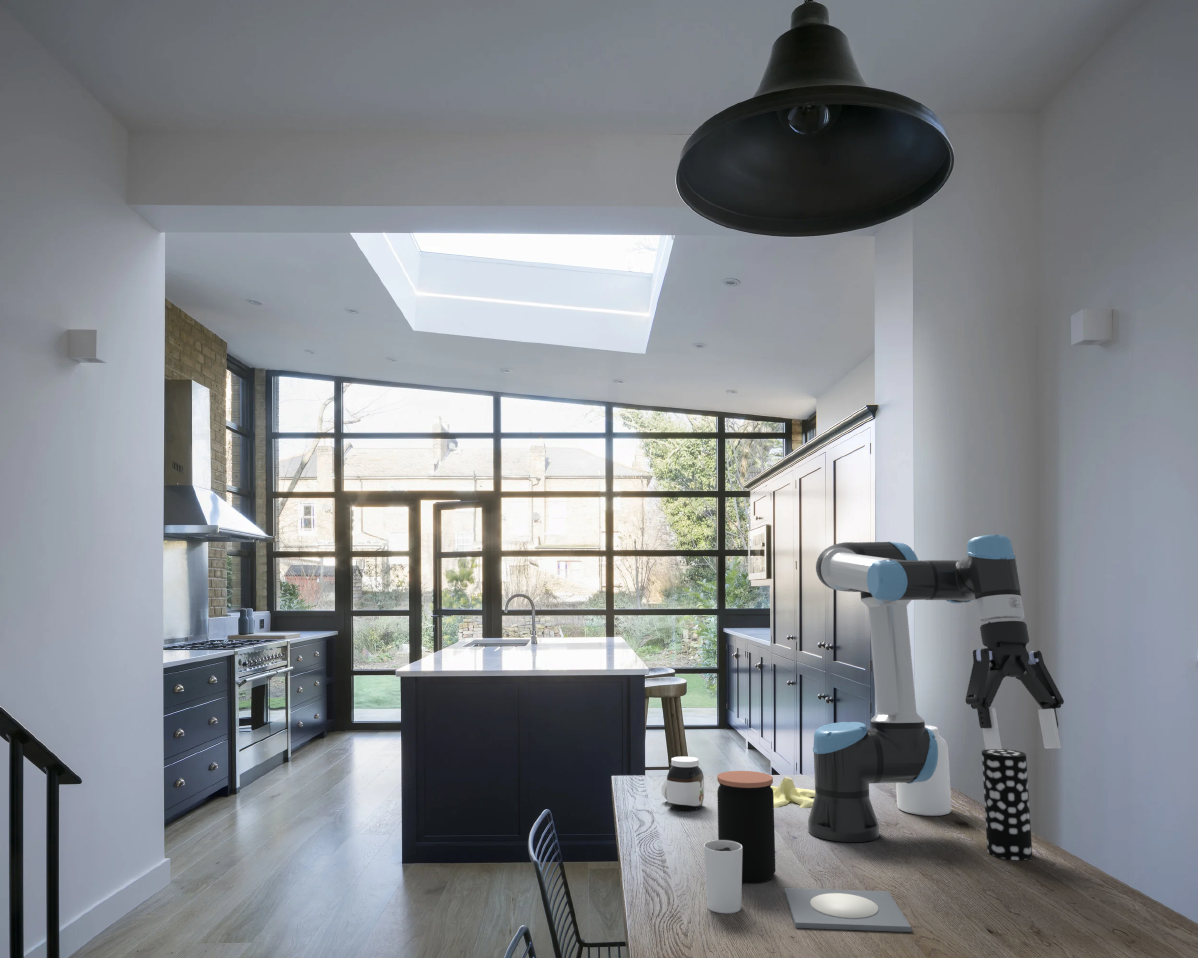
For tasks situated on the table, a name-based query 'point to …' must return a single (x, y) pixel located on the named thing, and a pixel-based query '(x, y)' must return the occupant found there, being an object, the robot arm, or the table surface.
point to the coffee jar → (748, 820)
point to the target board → (845, 910)
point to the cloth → (792, 794)
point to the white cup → (723, 875)
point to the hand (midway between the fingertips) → (1023, 749)
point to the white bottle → (929, 787)
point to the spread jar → (684, 784)
